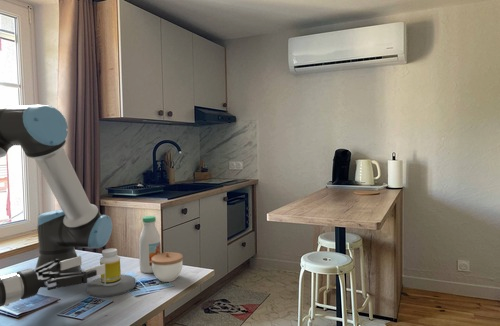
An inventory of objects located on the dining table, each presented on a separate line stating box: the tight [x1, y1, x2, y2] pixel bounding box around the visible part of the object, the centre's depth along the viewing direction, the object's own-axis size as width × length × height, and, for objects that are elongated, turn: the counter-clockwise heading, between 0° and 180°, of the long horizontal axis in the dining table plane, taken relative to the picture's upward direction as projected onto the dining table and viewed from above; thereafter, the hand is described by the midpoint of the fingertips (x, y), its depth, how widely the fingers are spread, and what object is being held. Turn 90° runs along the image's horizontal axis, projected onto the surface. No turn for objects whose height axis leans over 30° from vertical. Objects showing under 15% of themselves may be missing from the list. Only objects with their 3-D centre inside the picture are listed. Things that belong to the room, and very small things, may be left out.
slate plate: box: [86, 274, 137, 298], centre depth 123 cm, size 15×15×2 cm
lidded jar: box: [151, 251, 184, 283], centre depth 130 cm, size 11×11×9 cm
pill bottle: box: [99, 247, 122, 286], centre depth 123 cm, size 6×6×11 cm
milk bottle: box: [138, 215, 162, 274], centre depth 139 cm, size 8×8×20 cm
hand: (92, 264), depth 117 cm, fingers open, 13 cm apart
